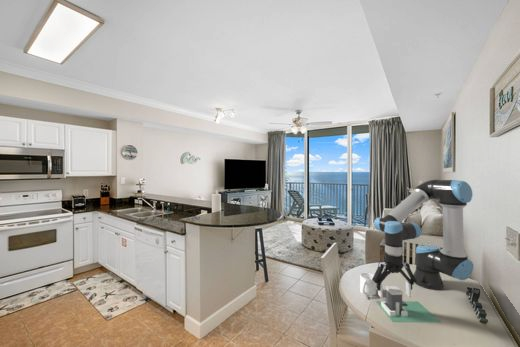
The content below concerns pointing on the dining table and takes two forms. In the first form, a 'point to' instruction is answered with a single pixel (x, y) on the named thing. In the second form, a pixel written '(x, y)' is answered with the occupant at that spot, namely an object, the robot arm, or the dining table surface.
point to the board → (412, 313)
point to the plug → (394, 299)
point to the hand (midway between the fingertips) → (394, 296)
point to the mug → (367, 284)
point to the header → (393, 313)
